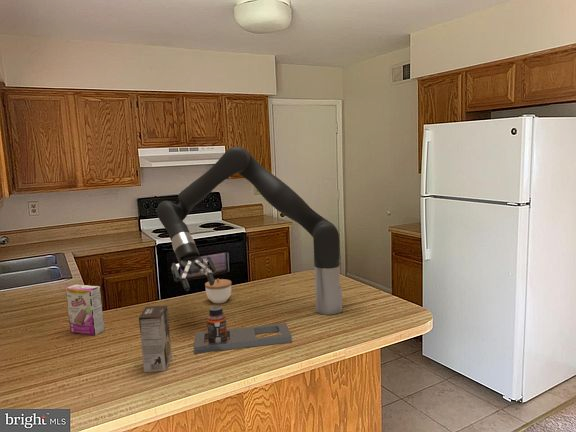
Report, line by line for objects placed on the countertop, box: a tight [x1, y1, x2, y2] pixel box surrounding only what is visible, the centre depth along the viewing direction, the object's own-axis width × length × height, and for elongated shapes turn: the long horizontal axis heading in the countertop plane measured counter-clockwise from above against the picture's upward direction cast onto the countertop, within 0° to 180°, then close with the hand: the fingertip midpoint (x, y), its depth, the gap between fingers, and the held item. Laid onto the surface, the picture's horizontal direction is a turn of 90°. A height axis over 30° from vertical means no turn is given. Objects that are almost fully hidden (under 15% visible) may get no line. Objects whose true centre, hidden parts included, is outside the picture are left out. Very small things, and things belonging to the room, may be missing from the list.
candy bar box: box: [64, 283, 106, 336], centre depth 152 cm, size 11×5×16 cm, turn 71°
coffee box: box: [138, 304, 173, 373], centre depth 125 cm, size 9×6×16 cm
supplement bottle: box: [206, 305, 227, 343], centre depth 138 cm, size 6×6×11 cm
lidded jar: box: [204, 278, 232, 304], centre depth 179 cm, size 11×11×9 cm
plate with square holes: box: [193, 322, 293, 354], centre depth 140 cm, size 30×11×2 cm, turn 99°
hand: (200, 287), depth 145 cm, fingers open, 8 cm apart
